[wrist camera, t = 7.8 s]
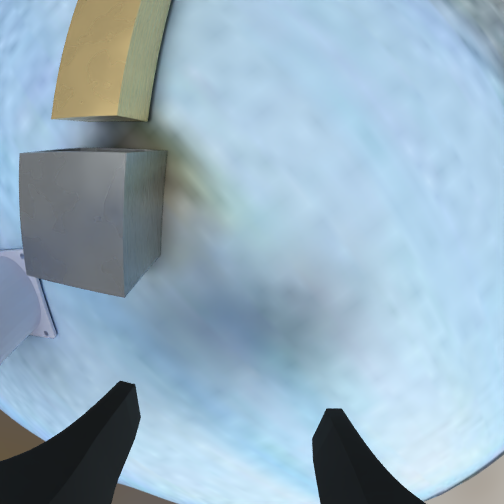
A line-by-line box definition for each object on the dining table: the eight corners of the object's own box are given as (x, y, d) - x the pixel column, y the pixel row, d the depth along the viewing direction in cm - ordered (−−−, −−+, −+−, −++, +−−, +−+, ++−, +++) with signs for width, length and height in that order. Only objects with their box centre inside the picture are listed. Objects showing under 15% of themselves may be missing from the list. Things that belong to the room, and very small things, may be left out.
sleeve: (160, 255, 18) (124, 297, 13) (77, 242, 18) (26, 275, 13) (167, 150, 16) (126, 153, 11) (77, 147, 16) (19, 153, 11)
